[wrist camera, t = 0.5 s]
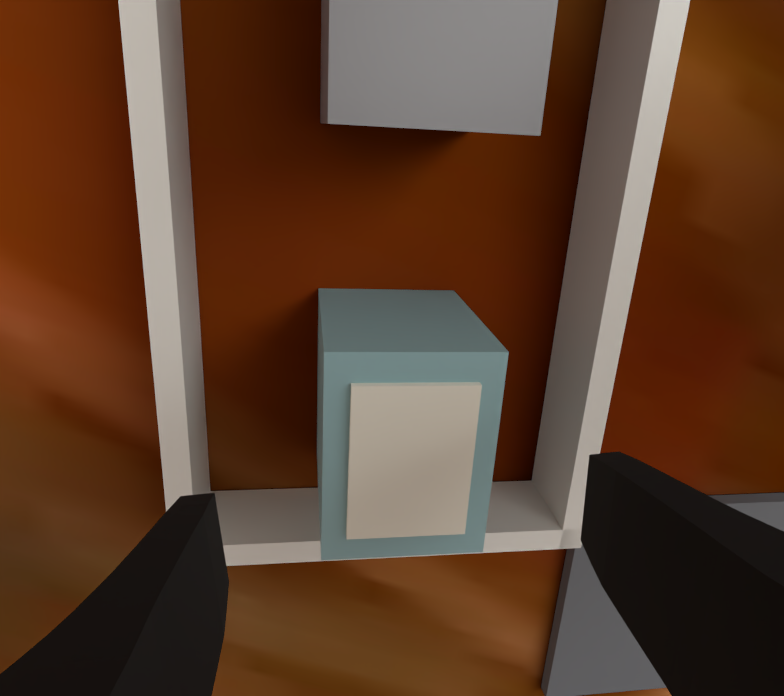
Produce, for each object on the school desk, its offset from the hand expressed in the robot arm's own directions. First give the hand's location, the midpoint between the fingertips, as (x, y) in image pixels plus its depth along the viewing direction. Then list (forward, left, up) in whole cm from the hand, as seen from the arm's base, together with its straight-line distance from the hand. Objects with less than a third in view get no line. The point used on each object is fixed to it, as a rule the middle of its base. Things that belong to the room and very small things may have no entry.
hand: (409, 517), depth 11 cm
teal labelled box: (-1, +1, -10) cm, 10 cm away
